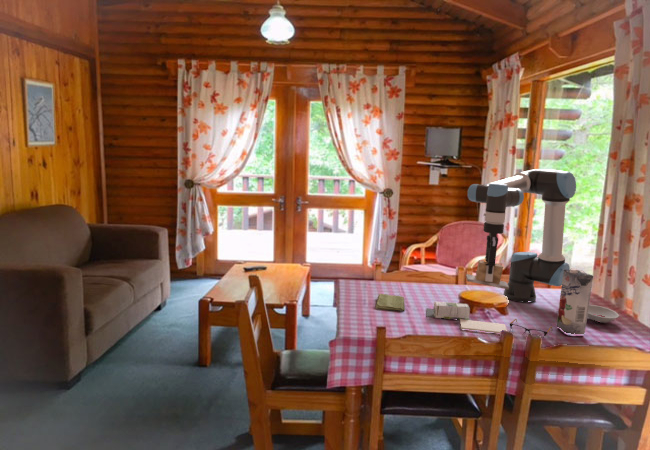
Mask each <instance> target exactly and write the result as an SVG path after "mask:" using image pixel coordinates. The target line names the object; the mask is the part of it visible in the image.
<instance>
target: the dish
mask: <svg viewBox="0 0 650 450" xmlns="http://www.w3.org/2000/svg"><path fill="white" fill-rule="evenodd" d="M593 314H596V315H593ZM597 315H602V316H605V317H601V316H597ZM619 317H620V315H619V313H618V312H617V311H615V310H613V309H610V308H608V307H605V306H600V305H595V304H589V309H588V316H587V319H590V320H591V321H594V320H595V322H596V321H600V323H611V322H612V321H615V319H618V318H619Z"/></svg>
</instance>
